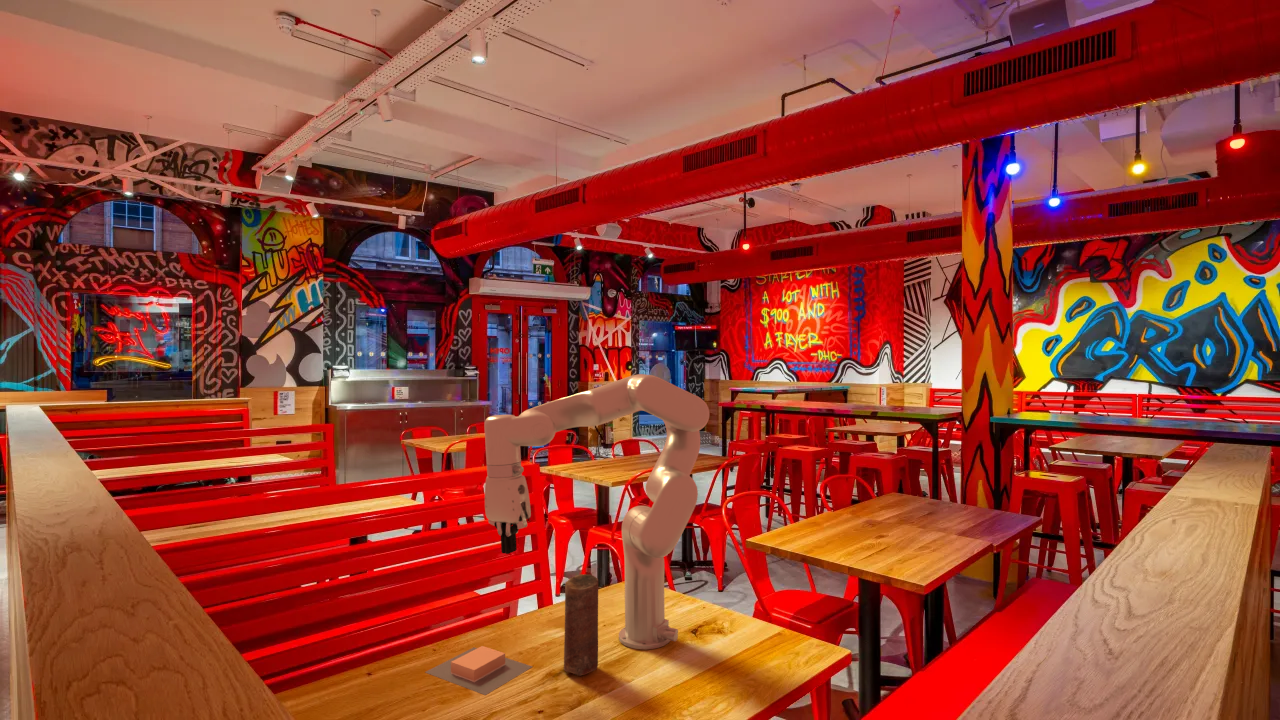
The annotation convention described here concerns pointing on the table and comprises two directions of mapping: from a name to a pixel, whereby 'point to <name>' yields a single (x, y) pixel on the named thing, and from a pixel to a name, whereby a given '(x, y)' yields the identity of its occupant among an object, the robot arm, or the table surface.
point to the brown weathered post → (581, 624)
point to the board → (485, 683)
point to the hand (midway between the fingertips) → (509, 551)
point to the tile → (477, 663)
